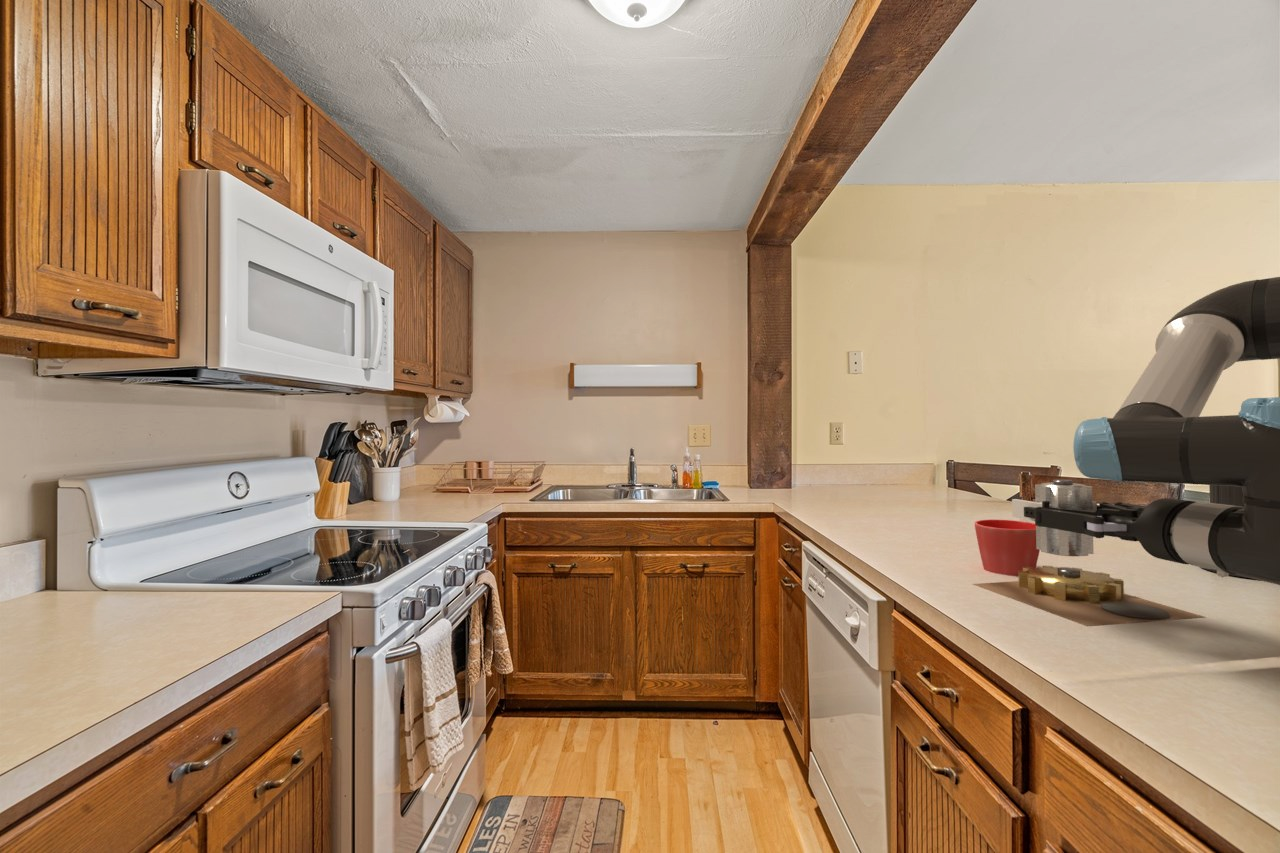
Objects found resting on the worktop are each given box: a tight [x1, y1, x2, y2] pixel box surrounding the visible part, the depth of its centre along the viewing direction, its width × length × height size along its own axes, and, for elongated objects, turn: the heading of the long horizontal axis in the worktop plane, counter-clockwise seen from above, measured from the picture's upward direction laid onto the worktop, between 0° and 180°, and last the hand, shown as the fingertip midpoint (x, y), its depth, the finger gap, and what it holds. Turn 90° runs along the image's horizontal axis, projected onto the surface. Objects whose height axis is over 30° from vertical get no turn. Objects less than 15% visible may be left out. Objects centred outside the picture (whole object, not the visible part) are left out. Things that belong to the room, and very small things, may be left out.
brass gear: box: [1017, 565, 1125, 604], centre depth 97 cm, size 14×14×4 cm
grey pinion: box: [1034, 479, 1094, 557], centre depth 88 cm, size 7×7×11 cm
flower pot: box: [974, 519, 1041, 577], centre depth 111 cm, size 11×11×10 cm
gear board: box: [972, 580, 1206, 627], centre depth 93 cm, size 19×22×1 cm
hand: (1036, 506), depth 93 cm, fingers closed on grey pinion, 7 cm apart
